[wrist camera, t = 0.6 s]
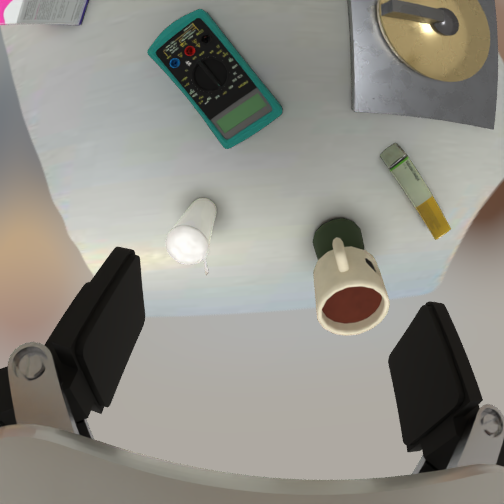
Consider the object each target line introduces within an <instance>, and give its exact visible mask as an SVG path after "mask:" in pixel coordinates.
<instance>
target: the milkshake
mask: <svg viewBox="0 0 504 504" xmlns="http://www.w3.org/2000/svg"><path fill="white" fill-rule="evenodd" d="M216 213H217V209H216V206H215V203H213V202H212V201H211V200H209V199H208V198H199V199H197V200H195V201H194V202H192V204H191V205H190V206H189V208H188V209H187V210H186V211H185V213H184V214H183V215H182V217H181V218H180V219H179V221H178V222H177V223H176V224H175V225H174V226H173V228H172V229H171V230H170V231H169V233H168V234H167V237H166V249H167V252H168V253H169V255H170V256H171V257H172V258H173V259H174V260H176V261H177V262H178V263H181V264H197V263H199V262H201V261H202V260H203V262H204V267H205V273H206V275H207V274H208V267H207V261H206V256H207V254H208V251H209V245H210V240H211V234H212V230H213V225H214V221H215V217H216Z"/></svg>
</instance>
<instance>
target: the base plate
mask: <svg viewBox="0 0 504 504" xmlns="http://www.w3.org/2000/svg"><path fill="white" fill-rule="evenodd" d="M478 2H479V3H480V5H481V7H482V9H483V11H484V13H485V15H486V18H487V21H488V25H489V30H490V48H489V53H488V57H487V59H486V61H485V63H484V65H483V66H482V68H481V69H480V70H479V71H478V72H477V73H476V74H474V75H473V76H472V77H470V78H468V79H465V80H462V81H457V82H446V81H440V80H435V79H431V78H428V77H425V76H423V75H421V74H419V73H417V72H415V71H414V70H412V69H411V68H409V67H408V66H407V65H405V64H404V63H403V62H402V61H401V60H400V59H399V58H398V57H397V56H396V55H395V54H394V52H393V51H392V50H391V48H390V47H389V45H388V44H387V42H386V40H385V38H384V36H383V34H382V32H381V29H380V26H379V22H378V17H377V0H348V10H349V24H350V42H351V71H352V110H353V111H355V112H370V113H384V114H395V115H405V116H414V117H422V118H430V119H437V120H444V121H450V122H456V123H462V124H468V125H473V126H478V127H483V128H488V129H493V130H494V122H495V112H496V100H497V82H498V40H497V21H496V10H495V1H494V0H478Z"/></svg>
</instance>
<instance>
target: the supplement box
mask: <svg viewBox="0 0 504 504" xmlns="http://www.w3.org/2000/svg"><path fill="white" fill-rule="evenodd" d="M88 2H89V0H0V25H11V24H57V25H81V24H82V21H83V18H84V14H85V11H86V8H87V5H88Z"/></svg>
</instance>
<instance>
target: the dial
mask: <svg viewBox="0 0 504 504" xmlns="http://www.w3.org/2000/svg"><path fill="white" fill-rule="evenodd" d="M377 17H378V22H379V26H380V29H381V32H382V34H383V36H384V38H385V40H386V42H387V44H388V45H389V47H390V48H391V50H392V51H393V52H394V54H395V55H396V56H397V57H398V58H399V59H400V60H401V61H402V62H403V63H404V64H405V65H407V66H408V67H409V68H411V69H412V70H414V71H415V72H417V73H419V74H421V75H423V76H425V77H428V78H431V79H435V80H440V81H446V82H457V81H462V80H465V79H468V78H470V77H472V76H473V75H474V74H476V73H477V72H478V71H479V70H480V69H481V68H482V66H483V65H484V63H485V61H486V59H487V57H488V53H489V48H490V30H489V25H488V21H487V18H486V15H485V13H484V11H483V9H482V7H481V5H480V3H479V2H478V0H377Z"/></svg>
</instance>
